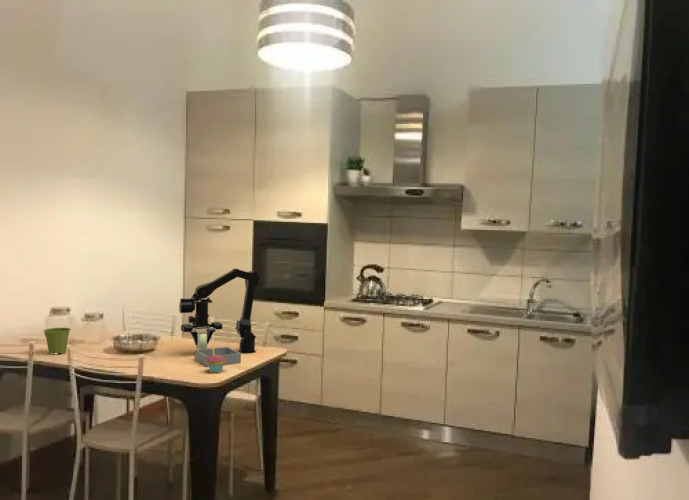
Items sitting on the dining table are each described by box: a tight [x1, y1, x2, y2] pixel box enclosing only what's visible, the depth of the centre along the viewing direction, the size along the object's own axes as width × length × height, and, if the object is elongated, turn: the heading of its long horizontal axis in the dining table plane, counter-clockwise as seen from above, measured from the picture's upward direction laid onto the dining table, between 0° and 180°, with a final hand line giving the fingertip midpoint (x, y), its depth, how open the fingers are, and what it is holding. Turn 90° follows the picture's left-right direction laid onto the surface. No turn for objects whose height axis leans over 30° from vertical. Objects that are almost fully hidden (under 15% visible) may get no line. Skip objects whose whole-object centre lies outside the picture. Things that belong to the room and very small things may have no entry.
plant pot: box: [42, 327, 71, 354], centre depth 294 cm, size 12×12×11 cm
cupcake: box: [206, 343, 226, 374], centre depth 265 cm, size 9×8×12 cm
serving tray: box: [194, 346, 242, 368], centre depth 284 cm, size 16×16×4 cm
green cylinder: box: [195, 332, 208, 350], centre depth 296 cm, size 5×5×7 cm
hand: (201, 344), depth 296 cm, fingers closed on green cylinder, 5 cm apart
